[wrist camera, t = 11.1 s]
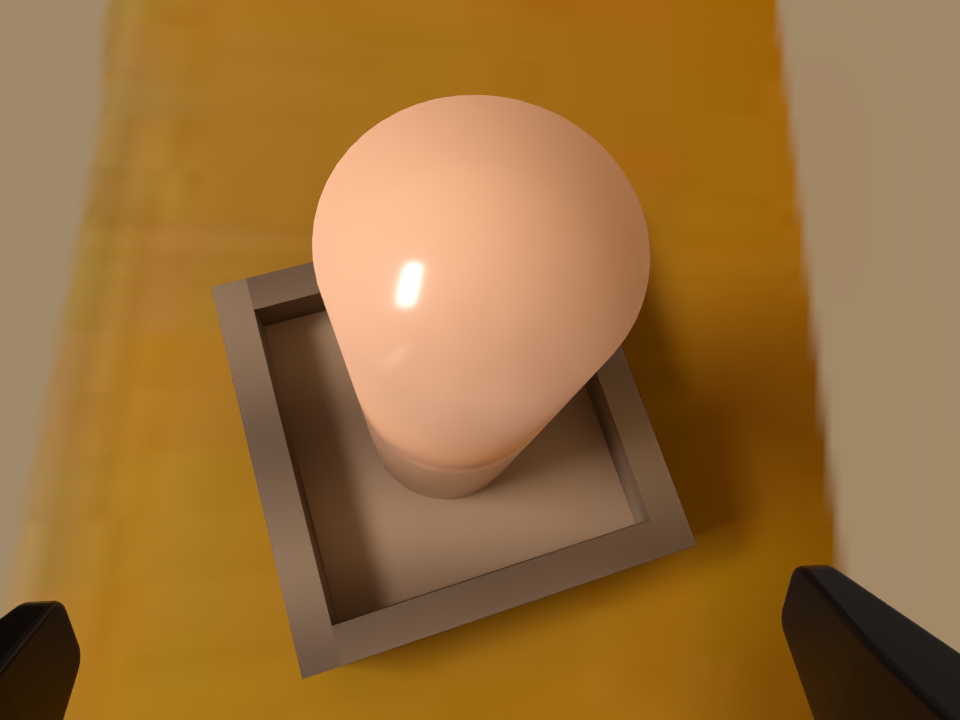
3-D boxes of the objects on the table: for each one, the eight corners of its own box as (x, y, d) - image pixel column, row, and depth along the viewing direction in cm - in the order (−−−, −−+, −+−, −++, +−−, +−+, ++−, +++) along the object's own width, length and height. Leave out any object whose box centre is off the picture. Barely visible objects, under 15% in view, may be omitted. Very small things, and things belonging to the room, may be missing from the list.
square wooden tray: (661, 548, 23) (696, 545, 20) (318, 664, 21) (302, 679, 18) (549, 240, 26) (566, 198, 23) (236, 321, 24) (211, 287, 21)
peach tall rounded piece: (537, 474, 22) (700, 352, 9) (394, 518, 21) (363, 451, 9) (492, 339, 23) (585, 65, 10) (355, 377, 22) (276, 133, 10)
